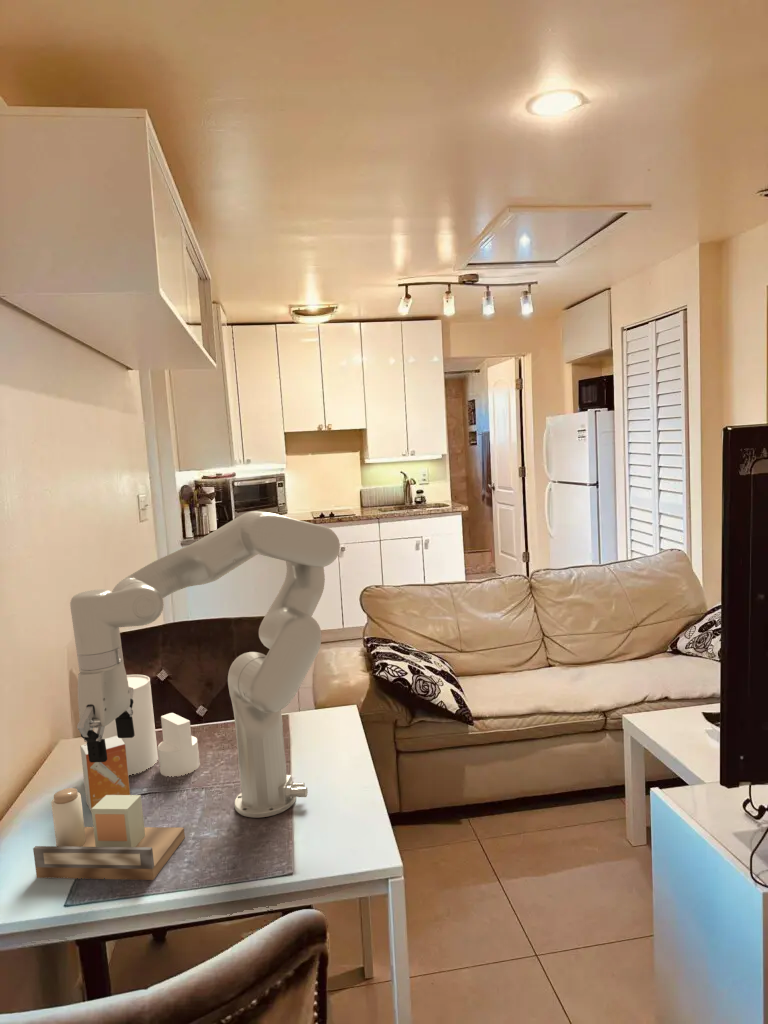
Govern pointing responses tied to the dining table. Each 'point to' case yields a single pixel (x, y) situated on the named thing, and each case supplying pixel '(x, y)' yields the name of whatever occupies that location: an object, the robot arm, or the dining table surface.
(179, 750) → the base with upright slab
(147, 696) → the canister
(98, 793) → the small box
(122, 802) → the carton
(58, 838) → the jar
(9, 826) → the dining table surface
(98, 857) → the shelf
